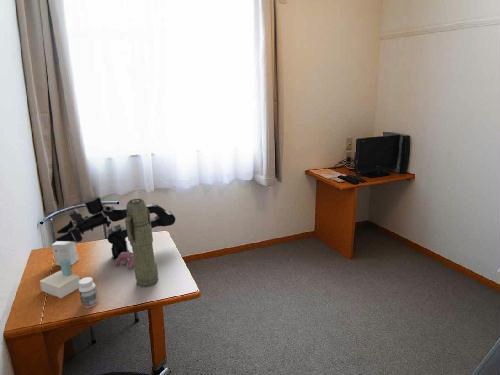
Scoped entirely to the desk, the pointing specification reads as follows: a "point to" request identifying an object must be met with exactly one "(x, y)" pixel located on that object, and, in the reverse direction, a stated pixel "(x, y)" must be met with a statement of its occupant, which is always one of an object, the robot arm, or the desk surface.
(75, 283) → the carton
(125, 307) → the desk surface
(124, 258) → the video game controller
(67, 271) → the flap
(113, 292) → the desk surface
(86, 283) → the pill bottle
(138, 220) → the olive tall rounded piece
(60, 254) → the small box
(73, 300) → the desk surface
